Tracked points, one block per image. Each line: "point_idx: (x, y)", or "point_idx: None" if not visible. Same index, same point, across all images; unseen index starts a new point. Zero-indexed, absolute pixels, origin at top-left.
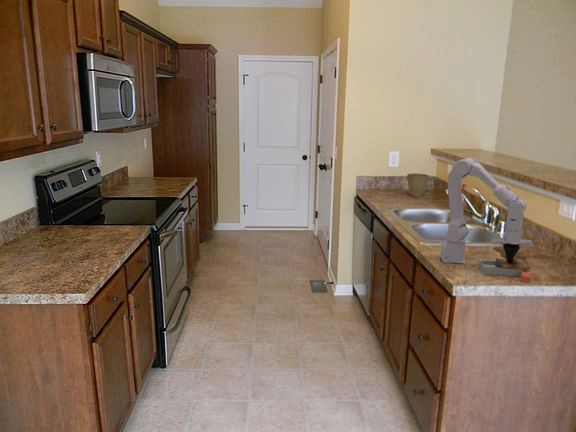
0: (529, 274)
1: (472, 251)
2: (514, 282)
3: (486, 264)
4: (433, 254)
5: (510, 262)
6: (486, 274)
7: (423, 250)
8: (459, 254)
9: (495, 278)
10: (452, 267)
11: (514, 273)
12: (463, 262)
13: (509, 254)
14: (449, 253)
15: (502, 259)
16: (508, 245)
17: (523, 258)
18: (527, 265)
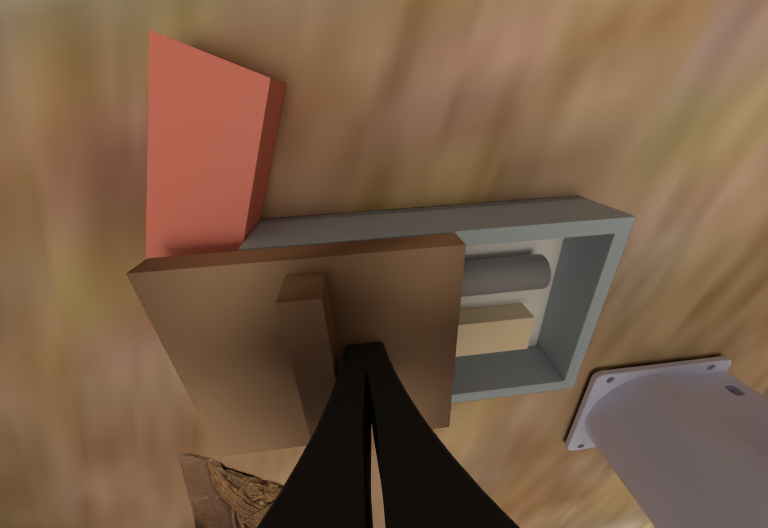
0: (159, 151)
1: None
2: (361, 14)
3: (501, 362)
4: None
5: (356, 345)
6: (561, 197)
7: None
8: (695, 425)
9: (522, 111)
10: (725, 290)
11: (323, 224)
12: (614, 376)
13: (403, 428)
14: (758, 421)
15: None
16: None
17: (210, 523)
18: (161, 330)
